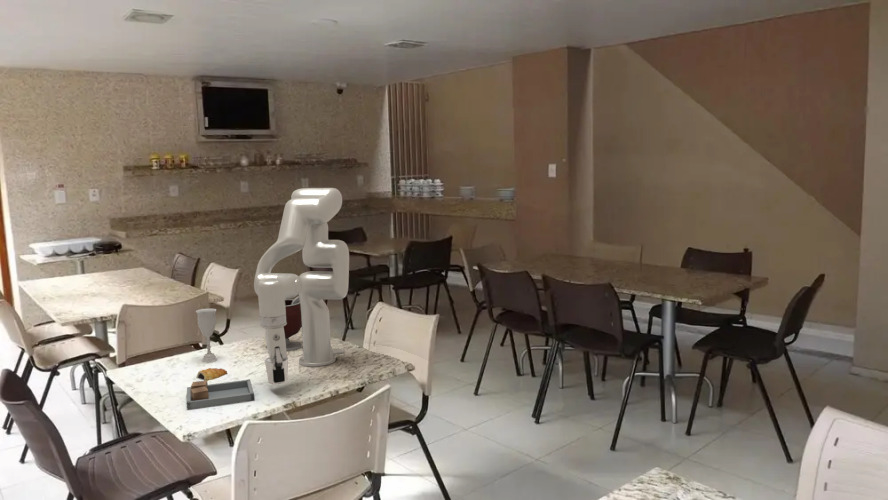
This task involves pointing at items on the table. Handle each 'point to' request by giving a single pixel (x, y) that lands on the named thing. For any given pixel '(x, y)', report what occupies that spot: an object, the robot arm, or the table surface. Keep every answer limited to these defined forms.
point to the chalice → (207, 329)
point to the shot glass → (270, 368)
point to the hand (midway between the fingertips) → (277, 377)
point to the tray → (223, 394)
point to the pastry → (211, 374)
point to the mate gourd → (292, 323)
